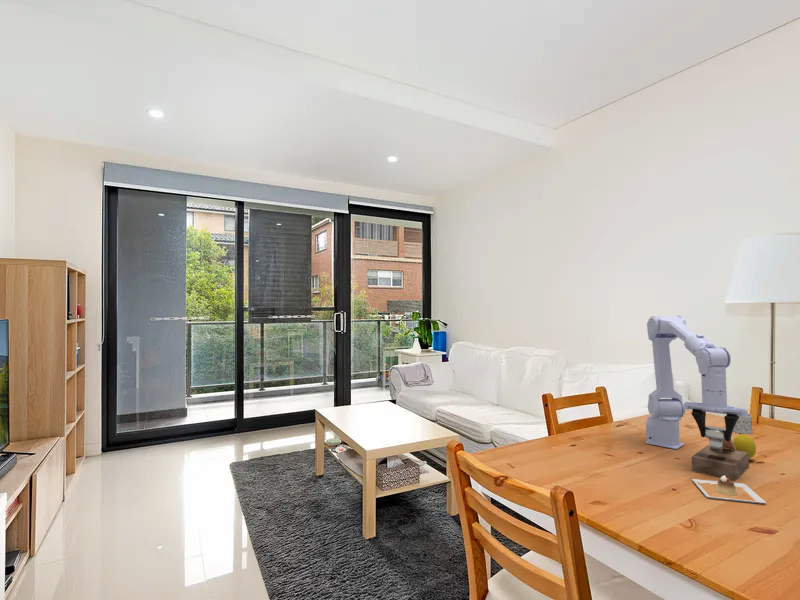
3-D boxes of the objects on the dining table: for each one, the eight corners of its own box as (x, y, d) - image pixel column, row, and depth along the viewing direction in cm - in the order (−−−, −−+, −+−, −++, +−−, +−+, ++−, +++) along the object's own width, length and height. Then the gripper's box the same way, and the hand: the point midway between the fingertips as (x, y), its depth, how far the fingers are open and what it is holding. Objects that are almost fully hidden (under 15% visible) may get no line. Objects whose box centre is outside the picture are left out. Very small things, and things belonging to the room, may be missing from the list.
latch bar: (719, 447, 131) (719, 444, 132) (735, 450, 128) (735, 447, 129) (712, 436, 127) (713, 433, 128) (729, 438, 124) (729, 436, 125)
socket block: (692, 470, 123) (691, 456, 123) (707, 458, 134) (707, 445, 134) (735, 480, 115) (735, 465, 116) (748, 466, 126) (748, 452, 126)
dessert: (745, 488, 112) (744, 469, 112) (767, 507, 101) (766, 486, 101) (691, 482, 116) (690, 464, 116) (706, 501, 105) (705, 481, 105)
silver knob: (702, 449, 122) (701, 428, 122) (707, 446, 126) (706, 425, 126) (725, 454, 118) (724, 432, 119) (729, 450, 122) (728, 428, 122)
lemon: (760, 463, 128) (759, 436, 128) (739, 462, 129) (738, 435, 130) (749, 457, 134) (748, 431, 134) (729, 456, 135) (728, 430, 135)
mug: (757, 434, 158) (756, 416, 158) (738, 434, 158) (738, 416, 159) (736, 427, 168) (735, 410, 168) (719, 427, 168) (718, 410, 169)
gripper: (680, 388, 125) (681, 436, 125) (742, 395, 115) (744, 447, 114) (687, 386, 130) (689, 431, 130) (748, 392, 119) (750, 441, 119)
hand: (715, 438), depth 122 cm, fingers closed on silver knob, 5 cm apart
